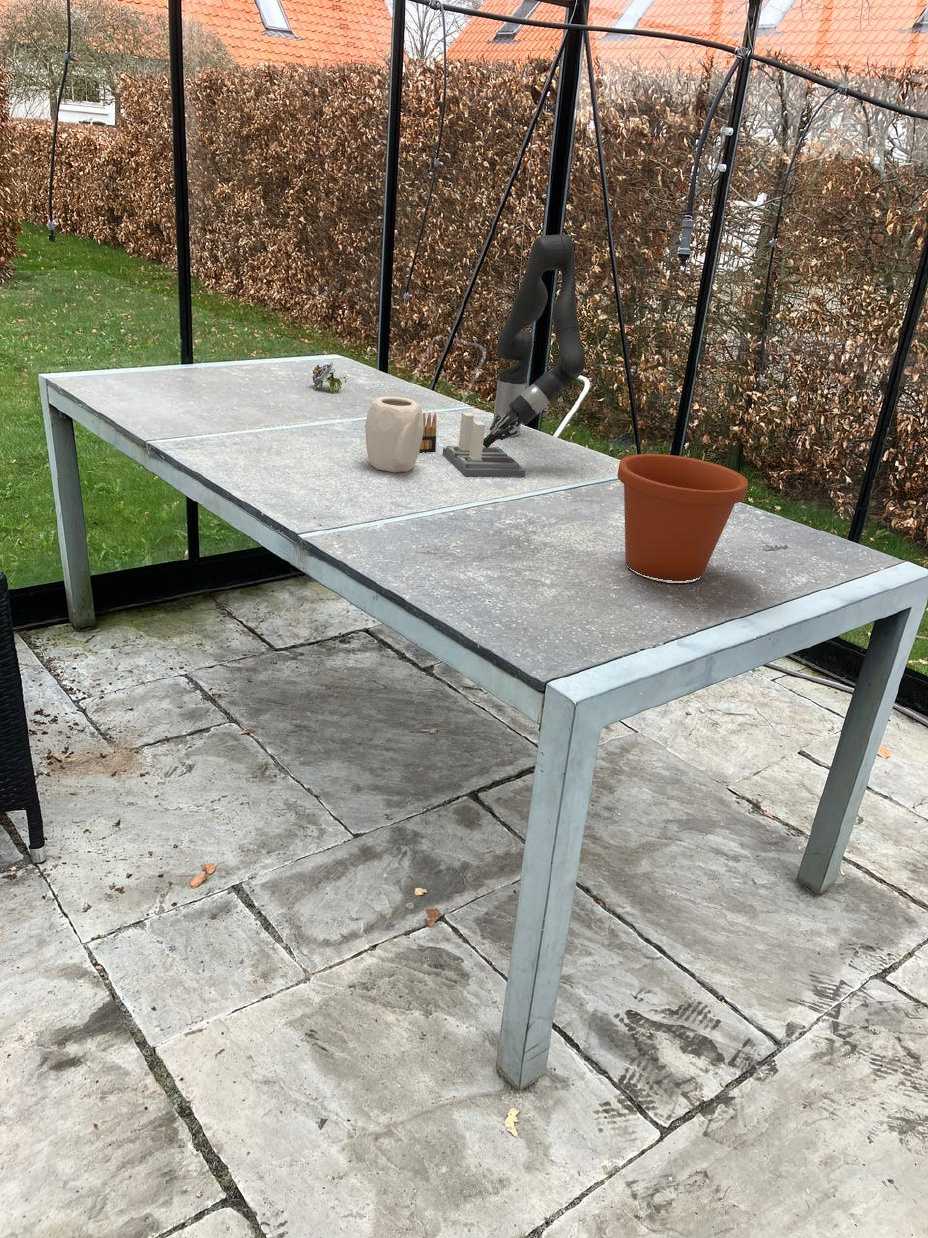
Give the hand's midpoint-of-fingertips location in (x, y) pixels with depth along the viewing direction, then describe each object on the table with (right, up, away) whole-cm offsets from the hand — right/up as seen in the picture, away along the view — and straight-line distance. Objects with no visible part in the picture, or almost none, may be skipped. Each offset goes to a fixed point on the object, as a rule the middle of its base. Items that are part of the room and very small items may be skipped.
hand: (483, 445), depth 277 cm
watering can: (-25, -8, -4) cm, 27 cm away
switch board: (0, -5, +8) cm, 9 cm away
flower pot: (+40, -38, -54) cm, 78 cm away
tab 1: (-6, 0, +10) cm, 11 cm away
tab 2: (-3, -5, +1) cm, 5 cm away
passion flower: (-55, +34, +78) cm, 101 cm away
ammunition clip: (-19, 0, +14) cm, 24 cm away
